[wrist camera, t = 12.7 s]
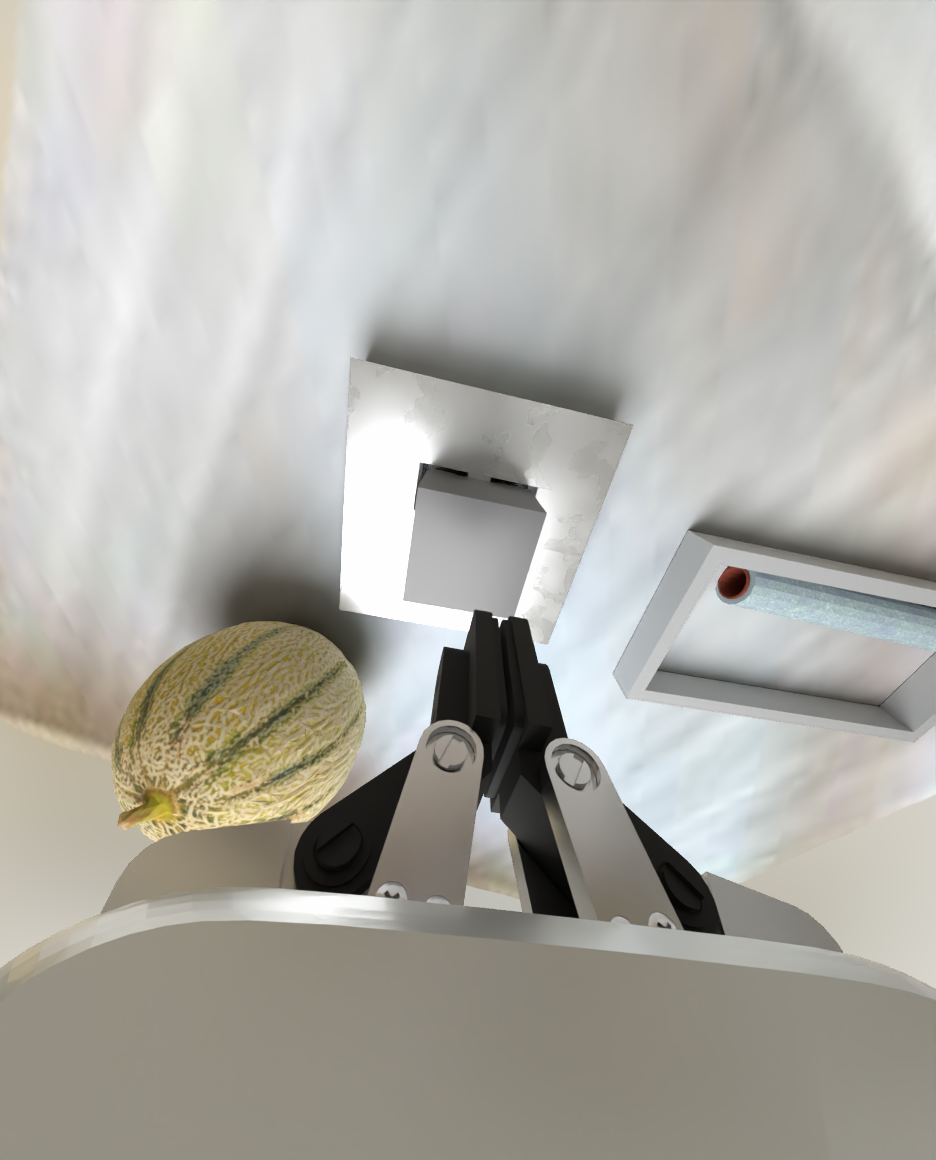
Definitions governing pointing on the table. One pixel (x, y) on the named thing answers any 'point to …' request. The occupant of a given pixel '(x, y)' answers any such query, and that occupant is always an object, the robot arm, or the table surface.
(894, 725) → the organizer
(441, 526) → the plug
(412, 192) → the table surface
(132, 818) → the cantaloupe
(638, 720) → the table surface
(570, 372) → the table surface
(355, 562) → the socket
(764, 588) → the aluminum foil
